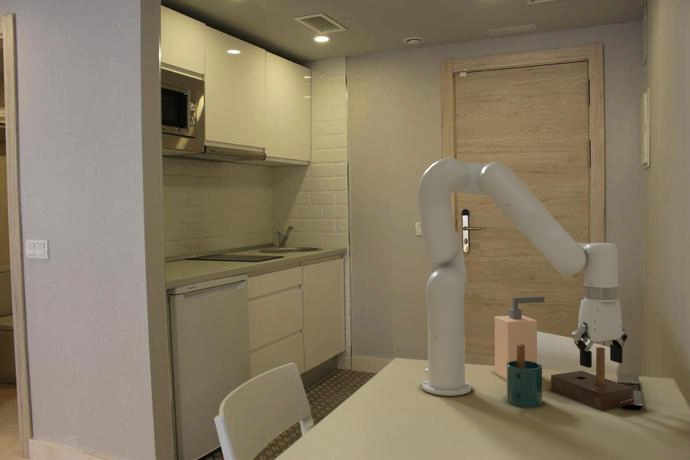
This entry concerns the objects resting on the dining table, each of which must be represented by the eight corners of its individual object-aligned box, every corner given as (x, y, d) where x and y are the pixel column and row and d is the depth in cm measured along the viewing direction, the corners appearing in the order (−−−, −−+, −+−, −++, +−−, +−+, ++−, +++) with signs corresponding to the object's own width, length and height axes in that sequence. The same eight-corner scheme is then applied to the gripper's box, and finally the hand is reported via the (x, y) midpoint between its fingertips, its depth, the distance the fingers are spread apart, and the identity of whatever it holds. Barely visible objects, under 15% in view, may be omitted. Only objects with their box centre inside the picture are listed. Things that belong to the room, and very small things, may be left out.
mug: (514, 393, 146) (514, 358, 146) (546, 400, 141) (546, 363, 141) (495, 406, 137) (495, 368, 137) (529, 413, 132) (529, 374, 132)
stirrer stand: (550, 390, 149) (550, 374, 149) (581, 385, 153) (581, 370, 153) (600, 410, 134) (600, 393, 134) (633, 404, 137) (633, 387, 137)
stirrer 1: (516, 396, 142) (516, 344, 142) (521, 396, 143) (521, 343, 142) (520, 398, 141) (520, 345, 140) (525, 397, 141) (525, 345, 141)
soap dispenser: (508, 381, 157) (508, 300, 156) (494, 372, 166) (494, 296, 165) (551, 378, 159) (551, 299, 159) (535, 369, 168) (535, 294, 167)
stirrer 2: (595, 400, 141) (596, 347, 140) (600, 399, 141) (600, 346, 141) (600, 402, 139) (600, 348, 139) (604, 401, 140) (605, 348, 139)
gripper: (615, 289, 146) (615, 356, 147) (561, 294, 140) (561, 364, 140) (640, 293, 139) (640, 363, 140) (585, 298, 133) (585, 372, 133)
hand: (601, 364), depth 140 cm, fingers open, 9 cm apart
